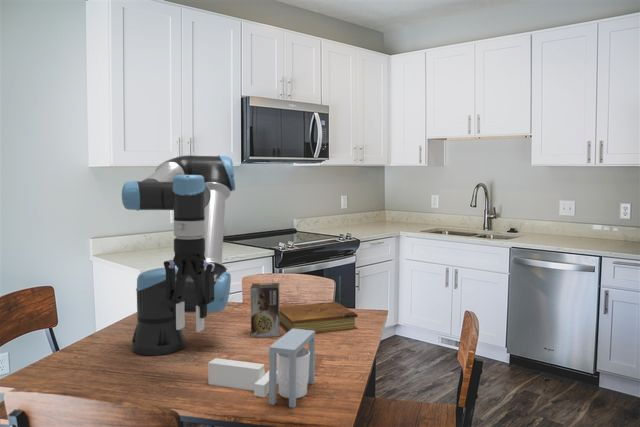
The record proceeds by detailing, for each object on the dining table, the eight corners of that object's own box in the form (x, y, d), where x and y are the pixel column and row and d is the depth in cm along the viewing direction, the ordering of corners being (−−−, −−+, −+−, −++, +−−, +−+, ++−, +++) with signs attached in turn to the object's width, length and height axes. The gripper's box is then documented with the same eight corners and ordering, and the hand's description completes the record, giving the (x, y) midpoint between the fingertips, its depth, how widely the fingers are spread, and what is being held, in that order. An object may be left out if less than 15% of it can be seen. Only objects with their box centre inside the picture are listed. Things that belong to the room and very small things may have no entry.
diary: (335, 316, 196) (335, 301, 195) (357, 331, 179) (357, 314, 178) (274, 322, 187) (275, 305, 187) (291, 337, 170) (292, 320, 170)
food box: (280, 331, 176) (280, 282, 174) (279, 337, 169) (279, 287, 168) (252, 331, 175) (252, 282, 174) (250, 337, 169) (250, 286, 167)
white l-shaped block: (202, 388, 129) (202, 366, 129) (220, 375, 138) (220, 354, 137) (264, 397, 124) (264, 374, 124) (278, 383, 133) (278, 361, 132)
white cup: (279, 401, 122) (280, 359, 121) (273, 388, 130) (273, 347, 129) (313, 398, 124) (313, 356, 123) (305, 384, 132) (305, 345, 131)
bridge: (269, 404, 121) (269, 347, 120) (292, 379, 135) (292, 328, 134) (294, 407, 119) (294, 350, 118) (314, 382, 133) (315, 330, 132)
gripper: (149, 237, 131) (150, 330, 133) (214, 240, 126) (215, 337, 128) (166, 233, 138) (167, 321, 140) (229, 237, 133) (229, 328, 135)
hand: (190, 329), depth 134 cm, fingers open, 5 cm apart
